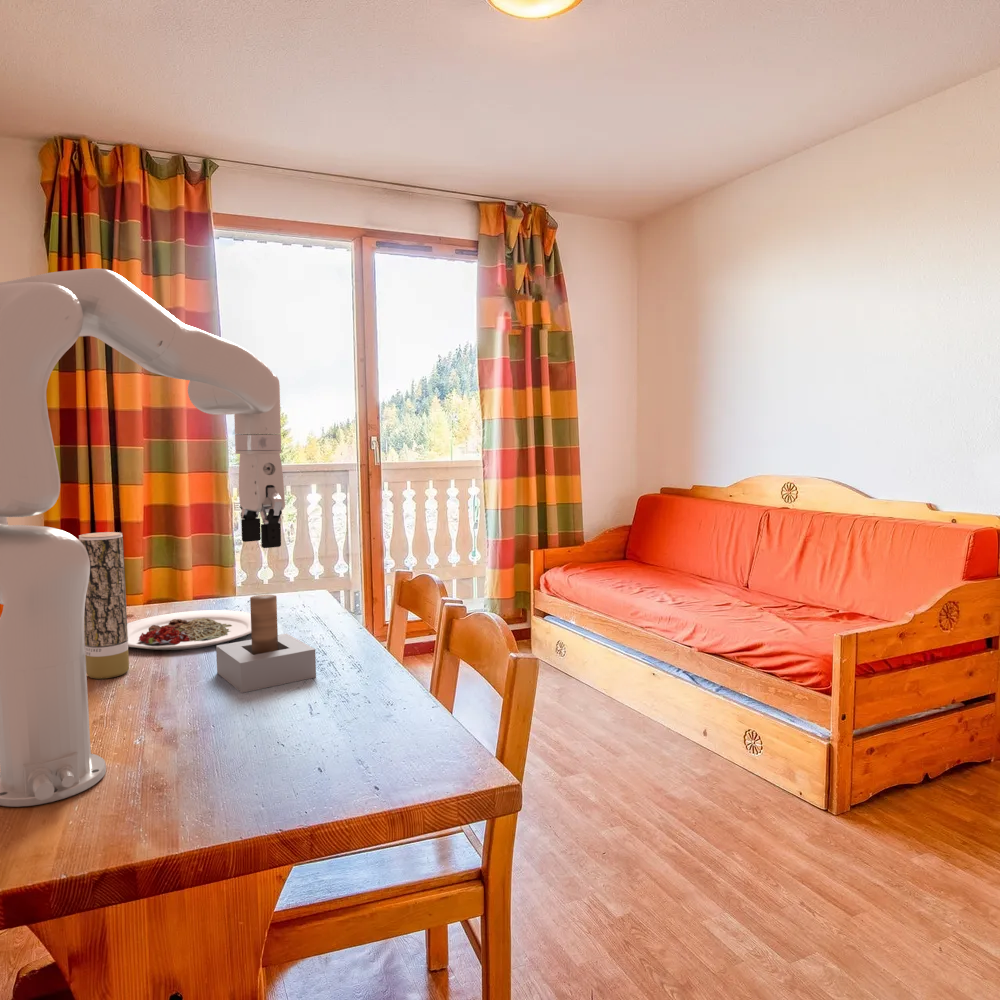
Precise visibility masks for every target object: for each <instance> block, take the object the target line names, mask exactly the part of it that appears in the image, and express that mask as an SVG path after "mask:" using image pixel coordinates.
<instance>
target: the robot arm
mask: <svg viewBox="0 0 1000 1000" xmlns="http://www.w3.org/2000/svg"><path fill="white" fill-rule="evenodd" d="M80 337H92V338H93V337H94V338H96V339H98V340H100V341H102V342H103V343H104V344H106V345H108V346H109V347H111V348H112V349H114V350H116V351H117V352H119V353H120V354H122V355H124V356H125V357H126V358H128V359H130V360H131V361H132V362H134V363H135V364H137V365H138V366H140V367H142V368H143V369H144V370H146V371H148V372H149V373H153V374H155V375H156V374H157V375H160V376H164V377H167V378H172V379H178V380H182V381H183V380H185V381H189V382H188V385H187V395H188V398H189V400H190V403H191V404H192V405H193V406H194V407H195V408H196V409H197V410H199V411H201V412H203V413H205V414H208V415H217V416H218V415H219V416H222V415H223V416H224V415H227V416H228V415H233V417H234V418H233V419H234V447H235V455H239V460H238V461H239V464H238V497H239V507H240V509H241V511H240V521H241V523H240V524H241V541H242V542H243V543H247V542H259V541H261V542H260V543H261V548H262V549H269V548H270V549H271V548H273V549H274V548H280V547H282V533H281V532H282V531H281V530H282V529H281V526H282V525H281V523H282V513H283V510H284V509H285V507H286V499H285V498H286V497H285V483H284V474H283V465H282V459H281V455H280V454H282V432H281V431H282V429H281V427H282V426H281V423H282V422H281V395H280V394H281V391H280V390H281V389H280V387H281V386H280V380H279V378H278V376H277V375H276V374H275V373H273V372H272V370H271V369H270V368H269V367H268V365H266V363H264V362H263V361H261V360H260V359H259V358H258V357H256V355H254V354H253V353H252V352H251V351H249V350H248V349H246V348H244V347H242V346H240V345H239V344H236V343H235V342H232V341H230V340H227V339H225V338H222V337H220V336H218V335H214V334H212V333H209V332H207V331H205V330H202V329H200V328H197V327H194V326H191V325H188V324H185V323H184V322H182V321H181V320H180V319H178V318H176V317H175V315H173V314H171V313H170V312H169V311H168V310H166V309H165V308H164V307H162V306H161V305H160V304H159V303H157V302H156V301H155V300H154V299H152V298H151V297H150V296H148V295H147V294H145V293H144V292H143V291H141V289H139V288H138V287H137V286H135V285H134V284H133V283H132V282H130V281H128V280H127V279H126V278H125V277H123V276H122V275H120V274H118V273H117V272H114V271H113V270H110V269H106V268H98V267H97V268H83V269H72V270H71V269H70V270H61V271H54V272H47V273H42V274H36V275H32V276H27V277H24V278H19V279H18V278H17V279H12V280H8V281H2V282H0V605H3V607H2V612H1V613H0V806H2V807H11V808H12V807H13V808H15V807H18V808H19V807H20V808H21V807H31V806H39V805H43V804H44V805H45V804H49V803H53V802H56V801H59V800H64V799H67V798H70V797H73V796H75V795H77V794H80V793H82V792H84V791H86V790H88V789H90V788H92V787H93V786H94V785H96V784H97V783H98V782H99V781H100V780H102V779H103V778H104V777H105V774H106V772H107V771H106V769H107V766H106V765H107V764H106V760H105V759H104V758H103V757H101V756H100V755H97V754H94V753H92V752H91V751H92V750H91V749H92V747H91V732H90V730H91V729H90V714H89V713H90V712H89V711H90V710H89V697H88V693H89V692H88V680H87V679H88V678H87V677H88V675H87V673H86V656H85V639H84V610H85V600H86V593H87V588H88V582H89V575H90V560H89V556H88V553H87V550H86V549H85V547H84V545H83V544H82V543H81V542H80V541H79V538H77V537H76V536H74V535H73V534H71V533H70V532H67V531H65V530H63V529H59V528H56V527H50V526H44V525H43V526H40V525H28V524H27V525H26V524H25V525H23V524H12V525H10V524H8V518H25V517H26V518H27V517H34V516H37V515H41V514H44V513H46V512H47V511H49V510H50V509H51V508H53V507H54V506H55V504H56V503H57V500H59V497H60V493H61V478H60V470H59V465H58V464H59V463H58V460H57V456H56V455H57V454H56V450H55V443H54V439H53V433H52V428H51V422H50V418H49V411H48V410H49V409H48V403H47V389H48V382H49V379H50V377H51V374H52V372H53V370H54V369H55V366H56V365H57V363H58V362H59V360H61V358H62V357H63V356H64V355H65V354H66V352H67V351H69V349H70V348H72V346H74V344H75V343H76V341H77V340H78V339H79V338H80ZM259 515H260V517H261V518H260V517H259ZM261 521H262V524H261Z"/></svg>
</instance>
